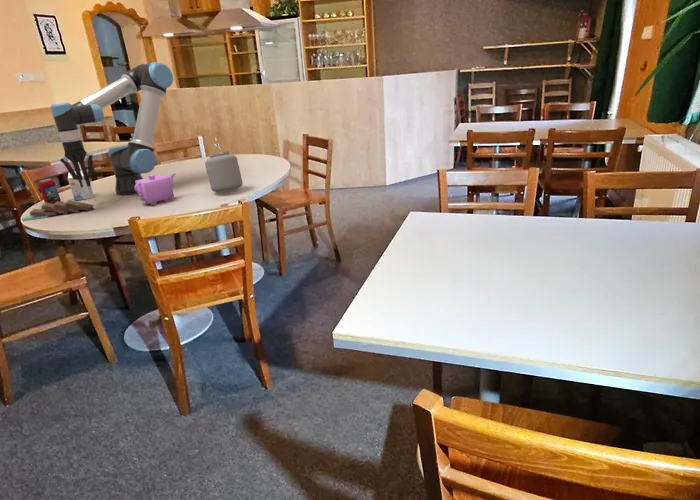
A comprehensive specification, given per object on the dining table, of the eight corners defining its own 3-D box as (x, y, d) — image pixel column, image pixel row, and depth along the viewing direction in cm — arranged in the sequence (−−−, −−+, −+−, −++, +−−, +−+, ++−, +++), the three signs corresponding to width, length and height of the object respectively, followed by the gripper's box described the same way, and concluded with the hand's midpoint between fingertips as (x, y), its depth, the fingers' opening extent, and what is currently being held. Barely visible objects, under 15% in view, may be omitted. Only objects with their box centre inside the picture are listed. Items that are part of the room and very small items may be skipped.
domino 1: (50, 212, 204) (26, 216, 202) (47, 215, 200) (21, 219, 198) (52, 215, 205) (27, 219, 203) (48, 218, 201) (23, 222, 198)
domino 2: (59, 208, 205) (33, 209, 202) (55, 211, 200) (29, 212, 198) (59, 212, 205) (34, 212, 203) (56, 215, 201) (30, 215, 198)
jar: (207, 190, 221) (196, 138, 212) (236, 184, 228) (227, 134, 218) (216, 198, 206) (205, 142, 196) (247, 191, 212) (238, 137, 203)
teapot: (144, 208, 200) (136, 180, 195) (135, 204, 207) (128, 178, 202) (186, 197, 213) (180, 170, 208) (177, 194, 220) (171, 168, 215)
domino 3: (71, 207, 206) (45, 202, 203) (67, 210, 202) (42, 205, 198) (70, 211, 207) (45, 205, 203) (67, 214, 202) (41, 208, 199)
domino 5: (93, 204, 208) (68, 200, 205) (90, 207, 204) (65, 202, 200) (92, 208, 209) (68, 203, 205) (89, 211, 204) (64, 206, 201)
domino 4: (82, 206, 207) (57, 201, 204) (79, 209, 203) (53, 204, 199) (81, 209, 208) (56, 204, 204) (78, 212, 203) (53, 207, 200)
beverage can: (54, 205, 219) (45, 181, 214) (42, 206, 220) (33, 182, 216) (64, 201, 225) (56, 178, 220) (53, 202, 227) (45, 178, 222)
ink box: (74, 201, 224) (65, 174, 219) (75, 197, 231) (66, 172, 226) (93, 197, 228) (85, 171, 222) (93, 194, 235) (86, 169, 229)
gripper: (89, 137, 200) (105, 189, 209) (57, 141, 197) (74, 193, 206) (85, 139, 193) (102, 193, 202) (52, 143, 190) (70, 197, 199)
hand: (88, 193), depth 204 cm, fingers closed
